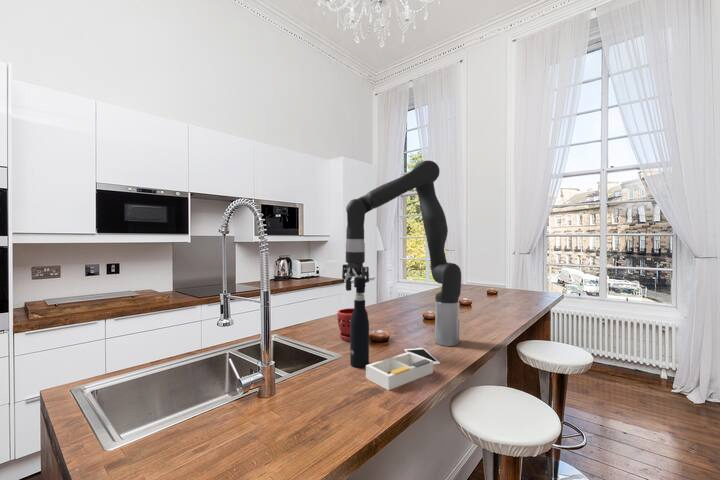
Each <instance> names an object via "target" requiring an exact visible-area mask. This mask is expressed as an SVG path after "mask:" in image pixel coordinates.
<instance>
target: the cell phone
mask: <svg viewBox="0 0 720 480" xmlns="http://www.w3.org/2000/svg"><path fill="white" fill-rule="evenodd" d="M403 351H404V352H405V353H407V352H411V353H414V354H417V355H419V356H422V357H425V358H427V359H430V360H432V361H433V366H435V365H440V364H441V362H440V361H439V360H438V359H436V358H435V357H434V356H433V355H432V354H430V353H429V351H427V350H426V349H425V348H424V347H417V348H404V350H403Z"/></svg>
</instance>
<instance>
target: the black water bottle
mask: <svg viewBox="0 0 720 480" xmlns="http://www.w3.org/2000/svg"><path fill="white" fill-rule="evenodd" d="M365 279H366V276H365V277H353V287H354V288H355V295H354V301H353V303H354V304H353V308H354V310H353V313H352V317H351V322H350V341H349V342H350V343H349V344H350V345H349V346H350V347H349V355H350V357H349V358H350V362H349V363H350V366H351V367H352V368H356V369H363V368H366V365H368V364H370V321H369V316H368V315H367V312H368V311H367V312H366V310H367V309H366V300H365V299H366V298H365V293H364V292H363V288H364V287H365V288H366V283H365Z"/></svg>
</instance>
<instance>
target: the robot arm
mask: <svg viewBox="0 0 720 480" xmlns="http://www.w3.org/2000/svg"><path fill="white" fill-rule="evenodd" d="M439 176H440V167H439V164H438V163H436V162H434V161H433V160H423V161H420V162H419V163H416V164H415V165H414V167H413V169H412V170H410V171H409V172H407V173H406V174H404V175H402V176H400V177H398V178H396V179H394V180H391V181H389V182H386V183H384V184H381V185H380V186H378V187H376V188H374V189H372V190H370V191H369V192H367V193H365V194H364V195H363V196H360V197H358V198H354V199H351V200H349V202H348V203H347V205H346V207H345V208H346V209H345V211H346V215H347V216H346V219H347V220H346V221H347V226H346V235H345V236H346V239H345V240H346V241H345V263H346V264H342V268H341V269H342V276H341V278H342V280H344V281H345V291H346V292H347V291H348V292H349V291H352V279H353V278H355V277H365V284H366V283H369V282H370V273H369V272H370V271H369V270H370V269H369V266H364V265H363V264H364V263H366V261H365V259H366V258H365V257H366V249H365V248H366V243H365V218H366V214H367V213H369V212H371V211H372V210H373V209H377V208H379V207H381V206H384V205H385V204H387V203H389V202H390V201H393V200H394V199H396V198H399V197H400V196H401V195H404V194H405V193H407V192H409V191H412V190H414V189H415V191H416V194H417V196H418V201H419V207H420V208H419V209H420V213H421V217H422V218H421V219H422V224H423V231H424V233H425V239H426V242H427V246H428V247H427V248H428V254H429V260H430V271H431V276H432V279H433V280H434V281H435V282H436V283H438V284H441V290H440V292H437V293H435V297H434V298H435V302H434V306H435V307H434V308H435V309H434V310H435V314H434V315H435V316H434V317H435V318H434V321H435V323H434V329H435V331H434V332H435V333H434V342H435V343H436V344H437V345H440V346H445V347H452V346H457V345H458V344H459V343H460V318H459V299H460V296H461V291H462V270H461V268H460V266H459V265H458V264H457V263H452V262H448V261H447V258H446V253H445V245H446V242H447V238H448V233H449V231H448V230H449V229H448V223H447V217H446V214H445V211H444V209H443V207H442V205H441V203H440V201H439V199H438V198H437V194H436V190H435V184H434V183H435V181H436V180H438V178H439ZM363 292H364V293H363V294H365V292H366V286H365V287H364V288H363Z"/></svg>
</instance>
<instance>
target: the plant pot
mask: <svg viewBox="0 0 720 480" xmlns="http://www.w3.org/2000/svg"><path fill="white" fill-rule="evenodd" d="M353 310H354V307H350V308H342V309H340V310H337V315H336V316H337V326H338V328H339V331H340V332H339V337H340V338H341V339H342V340H344V341H347V342H348V341H349V342H350V322H351V317H352V313H353ZM366 312H367V315H368V314H369V312H368V310H367V309H366Z"/></svg>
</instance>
